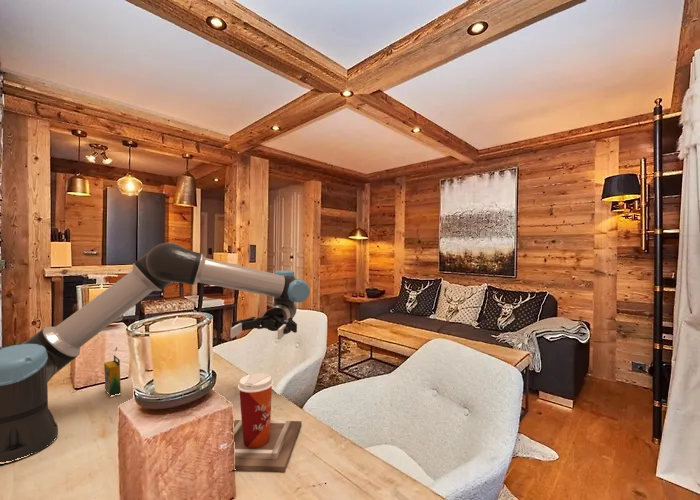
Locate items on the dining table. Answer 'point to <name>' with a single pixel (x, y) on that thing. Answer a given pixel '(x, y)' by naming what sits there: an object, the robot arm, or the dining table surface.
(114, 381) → the crayon box
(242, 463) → the walnut board
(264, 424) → the coffee cup
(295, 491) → the dining table surface
